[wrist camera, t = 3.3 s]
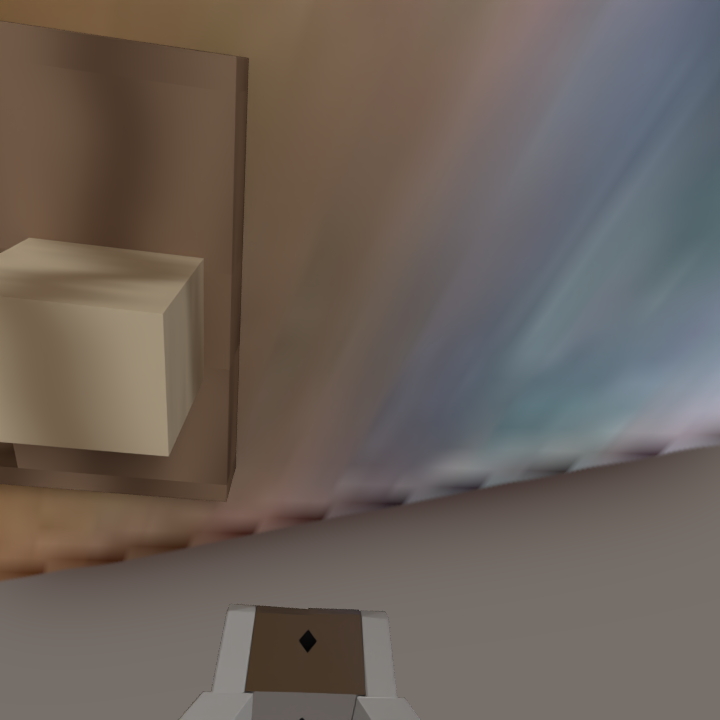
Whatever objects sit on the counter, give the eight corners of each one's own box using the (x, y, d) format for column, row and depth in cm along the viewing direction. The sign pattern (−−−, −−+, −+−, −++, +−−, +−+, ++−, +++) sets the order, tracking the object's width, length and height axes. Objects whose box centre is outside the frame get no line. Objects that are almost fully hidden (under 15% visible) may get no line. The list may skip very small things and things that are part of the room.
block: (203, 258, 19) (162, 313, 15) (203, 377, 22) (168, 456, 17) (29, 237, 19) (-67, 289, 15) (48, 362, 21) (-29, 439, 17)
